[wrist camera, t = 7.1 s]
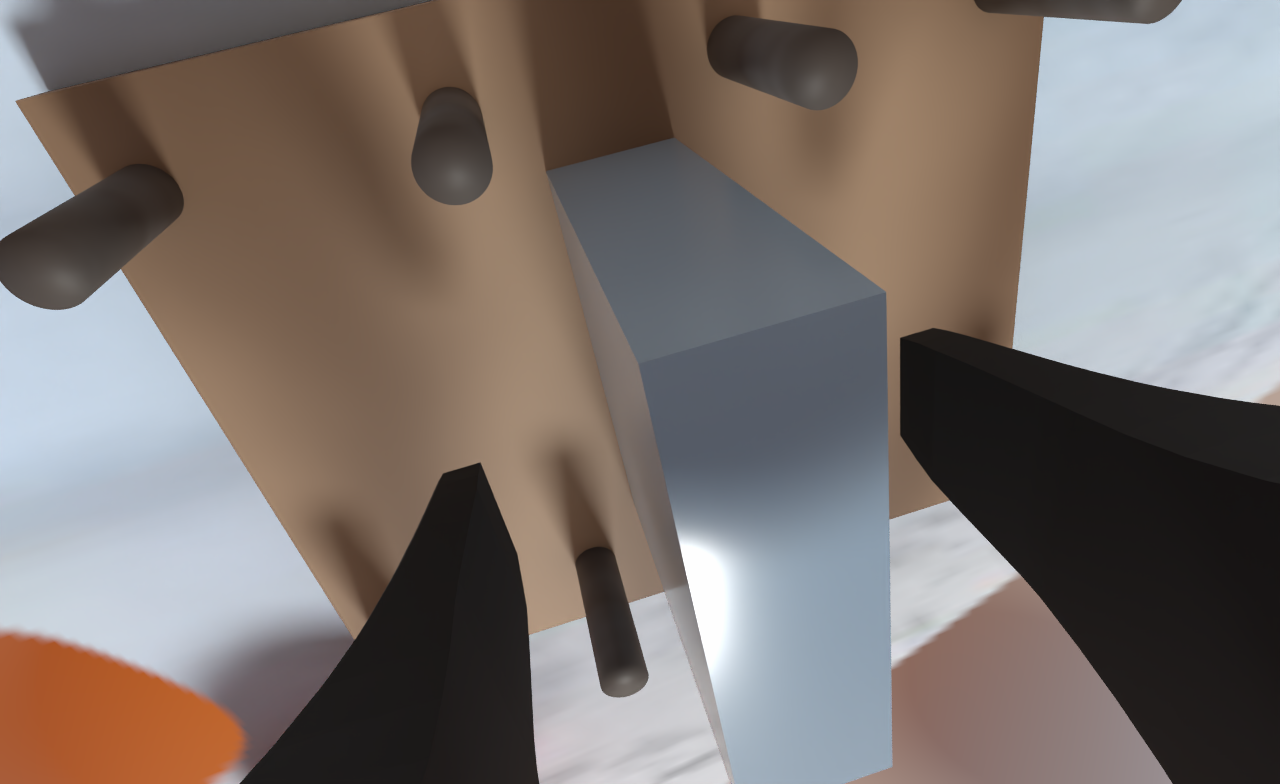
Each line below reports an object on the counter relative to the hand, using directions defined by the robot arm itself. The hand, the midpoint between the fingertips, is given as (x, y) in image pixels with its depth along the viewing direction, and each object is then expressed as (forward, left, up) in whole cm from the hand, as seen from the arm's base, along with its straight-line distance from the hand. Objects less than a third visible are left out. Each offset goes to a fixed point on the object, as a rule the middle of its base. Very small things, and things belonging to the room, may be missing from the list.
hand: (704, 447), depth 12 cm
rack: (0, 0, -5) cm, 5 cm away
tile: (0, 0, -4) cm, 4 cm away
